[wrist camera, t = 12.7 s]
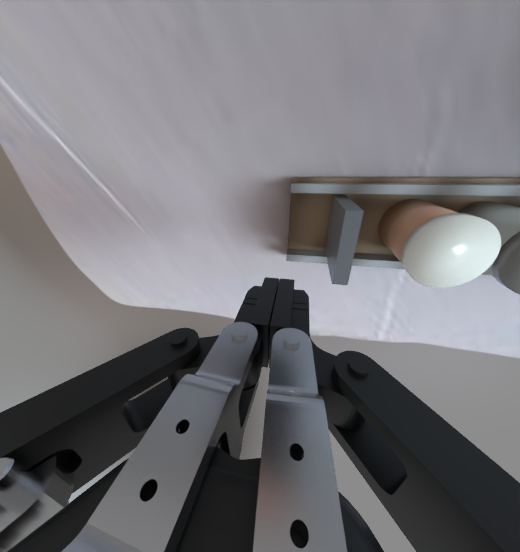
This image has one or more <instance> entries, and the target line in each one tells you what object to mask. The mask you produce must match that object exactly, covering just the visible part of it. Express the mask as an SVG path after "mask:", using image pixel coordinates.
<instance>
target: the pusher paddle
mask: <svg viewBox="0 0 520 552" xmlns="http://www.w3.org/2000/svg"><path fill="white" fill-rule="evenodd" d="M363 213H364V211H363V210H362V209H361V208H360V207H359V206H358V205H356V204H355V203H354V202H353V201H352V200H351V199H350V198H349V197H347V196H346V195H333V199H332V205H331V212H330V219H329V225H328V232H327V239H326V246H325V252H326V256H327V261H328V266H329V271H330V276H331V280H332V284H340V285H347V284H348V280H349V275H350V271H351V266H352V262H353V257H354V253H355V248H356V244H357V239H358V235H359V230H360V226H361V222H362V217H363Z"/></svg>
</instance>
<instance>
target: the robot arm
mask: <svg viewBox="0 0 520 552" xmlns="http://www.w3.org/2000/svg"><path fill="white" fill-rule="evenodd" d="M269 358H270V359H269ZM268 363H269V367H270V373H269V385H268V391H267V398H266V408H265V420H264V431H263V442H262V453H261V458H256V459H247V460H239V459H240V454H241V450H242V443H243V436H244V432H245V428H246V425H247V421H248V418H249V414H250V411H251V408H252V404H253V401H254V397H255V394H256V390H257V387H258V384H259V377H260V372H261V368H262V367H268ZM166 377H168V379H167V380H165V381H164V382H162V383H160V384H159V385H157V386H156V387H154V388H152V389H151V390H149V391H147V392H146V393H144V394H142V395H141V396H139V397H137V398H135V399H133V400H130V401H128V400H129V399H131V398H132V397H134V396H136V395H137V394H139V393H141V392H142V391H144V390H146V389H148V388H149V387H151V386H153V385H154V384H156V383H158V382H159V381H161V380H162V379H164V378H166ZM329 430H330V431H331V433H332V434H333V436H334V437H335V438H336V440H337V441H338V443H339V444H340V445H341V447H342V448H343V449H344V451H345V452H346V454H347V455H348V456H349V458H350V459H351V461H352V462H353V464H354V465H355V466H356V468H357V469H358V471H359V472H360V473H361V475H362V476H363V478H364V479H365V480H366V482H367V483H368V484H369V486H370V487H371V489H372V490H373V492H374V493H375V494H376V496H377V497H378V498H379V500H380V501H381V503H382V504H383V505H384V507H385V508H386V510H387V511H388V512H389V514H390V515H391V517H392V518H393V519H394V521H395V522H396V524H397V525H398V526H399V528H400V529H401V531H402V532H403V533H404V535H405V536H406V538H407V539H408V540H409V542H410V543H411V544H412V546H413V547H414V549H415V550H416V552H520V483H519V482H518V481H516V480H515V479H514V478H513V477H512V476H511V475H509V474H508V473H507V472H506V471H505V470H503V469H502V468H501V467H500V466H499V465H498V464H496V463H495V462H494V461H493V460H491V459H490V458H489V457H488V456H487V455H485V454H484V453H483V452H482V451H481V450H480V449H478V448H477V447H476V446H475V445H474V444H472V443H471V442H470V441H469V440H468V439H467V438H465V437H464V436H463V435H462V434H460V433H459V432H458V431H457V430H456V429H455V428H453V427H452V426H451V425H450V424H448V423H447V422H446V421H445V420H444V419H443V418H442V417H440V416H439V415H438V414H437V413H436V412H434V411H433V410H432V409H431V408H430V407H428V406H427V405H426V404H425V403H424V402H422V401H421V400H420V399H419V398H418V397H416V396H415V395H414V394H413V393H412V392H410V391H409V390H408V389H407V388H406V387H405V386H403V385H402V384H401V383H400V382H398V381H397V380H396V379H395V378H394V377H392V376H391V375H390V374H389V373H388V372H387V371H386V370H384V369H383V368H382V367H381V366H380V365H378V364H377V363H376V362H375V361H374V360H372V359H371V358H370V357H368V356H366V355H364V354H362V353H359V352H355V351H345V352H342V353H340V354H338V355H337V356H335V355H332V354H330V353H327V352H325V351H323V350H321V349H320V348H318V347H317V346H316V345H315V344H314V343H313V342H312V340H311V338H310V334H309V297H308V295H307V294H306V292H305V291H304V290H294V280H290V279H280V282H279V279H278V278H266V277H265V279H264V282H263V285H262V287H260V286H254V287H252V288H251V289H250V290H248V292H247V294H246V296H245V299H244V301H243V304H242V305H241V308H240V310H239V312H238V314H237V317H236V319H235V321H234V323H232V324H230V325H228V326H226V327H225V328H224V329H223V330H222V332H221V334H220V335H217V336H213V337H204V338H199V336H198V334H197V332H196V331H195V330H192V329H190V328H180V329H176V330H173V331H171V332H169V333H167V334H165V335H162V336H160V337H158V338H156V339H154V340H152V341H150V342H148V343H146V344H144V345H142V346H139V347H138V348H135V349H133V350H131V351H129V352H127V353H125V354H123V355H120V356H119V357H116V358H114V359H112V360H110V361H108V362H106V363H104V364H102V365H100V366H97V367H95V368H93V369H92V370H89V371H87V372H85V373H83V374H81V375H79V376H77V377H75V378H72V379H70V380H68V381H66V382H64V383H62V384H60V385H58V386H55V387H53V388H51V389H49V390H47V391H45V392H43V393H41V394H39V395H37V396H35V397H33V398H31V399H28V400H26V401H24V402H22V403H20V404H18V405H16V406H14V407H11V408H9V409H7V410H5V411H3V412H1V413H0V552H384V551H383V549H382V548H381V546H380V544H379V543H378V541H377V539H376V538H375V536H374V535H373V533H372V531H371V530H370V528H369V527H368V525H367V524H366V522H365V521H364V520H363V518H362V517H361V516H360V514H359V513H358V511H357V510H356V509H355V508H354V507H353V506H352V505H351V503H350V502H349V501H348V500H347V499H346V498H345V497H344V496H343V495H342V494H341V493H340V492H338V488H337V481H336V475H335V468H334V462H333V455H332V449H331V443H330V436H329ZM134 448H136V449H135V450H134V452H133V453H132V455H131V456H130V458H129V459H127V460H125V461H124V462H122V463H121V464H120V465H118V466H117V467H116V468H114V469H113V470H112V471H111V472H109V473H108V474H107V475H105V476H104V477H103V478H102V479H100V480H99V481H98V482H96V483H95V484H94V485H92V486H91V487H90V488H89V489H87V490H86V491H85V492H83V493H82V494H81V495H79V496H78V497H77V498H76V499H74V500H73V501H72V502H71V503H69V501H68V500H69V498H70V496H71V494H72V493H73V492H75V491H76V490H77V489H79V488H80V487H82V486H83V485H85V484H86V483H87V482H89V481H90V480H92V479H93V478H94V477H96V476H97V475H98V474H100V473H101V472H103V471H104V470H105V469H107V468H108V467H109V466H111V465H112V464H114V463H115V462H116V461H118V460H119V459H120V458H122V457H123V456H125V455H126V454H127V453H129V452H130V451H131V450H133V449H134Z"/></svg>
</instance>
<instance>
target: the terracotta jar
mask: <svg viewBox="0 0 520 552" xmlns="http://www.w3.org/2000/svg"><path fill="white" fill-rule="evenodd" d="M378 234H379V237H380V239H381V241H382V242H383V243H384V244H385V245H386V246H387V247H388V248H389V250H390V251H391V252H392V253H393V254H394V255H395V256H396V257H397V258H398V259H399V261H400V262H401V263H402V265H403V267H404V269H405V270H406V271H407V273H408V274H409V275H410V276H411V277H412V278H413V279H414V280H415V281H416V282H418V283H420V284H421V285H424V286H427V287H432V288H449V287H454V286H458V285H461V284H464V283H467V282H469V281H471V280H473V279H475V278H476V277H478V276H479V275H481V274H482V273H483V272H485V271H486V270H487V269H488V268H489V267H490V266H491V265H492V264H493V262H494V261H495V259H496V258H497V256H498V254H499V251H500V248H501V237H500V233H499V231H498V229H497V228H496V227H495V226H494V225H493V224H492V223H491V222H489V221H487V220H485V219H482V218H479V217H476V216H473V215H470V214H466V213H457V212H454V211H452V210H449V209H446V208H443V207H440V206H438V205H435V204H432V203H429V202H426V201H423V200H420V199H407V200H403V201H401V202H398V203H396V204H395V205H393V206H392V207H390V208H389V209H388V210H387V211H386V212H385V213H384V214H383V216H382V218H381V220H380V222H379V226H378Z"/></svg>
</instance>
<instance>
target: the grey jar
mask: <svg viewBox="0 0 520 552" xmlns="http://www.w3.org/2000/svg"><path fill="white" fill-rule="evenodd" d="M457 213H466V214H470V215H473V216H476V217H479V218H482V219H485V220H487V221H489V222H491V223H492V224H493V225H494V226H495V227H496V228H497V229H498V231H499V233H500V237H501V248H500V251H499V254H498V256H497V258H496V259H495V261H494V262H493V264H492V265H491V266H490V267H489V268H488V269H487V270H486V272H487V273H489V274H491V275H492V276H494V277H495V278H496V280H497V281H498V282H500V283H501V284H502V285H504V286H506V287H507V288H509V289H510V290H512V291H514V292H515V293H518V294H520V208H519V207H515V206H510V205H506V204H501V203H497V202H492V201H481V202H476V203H473V204H470V205H468V206H465V207H464V208H462V209H460V210H459V211H457Z"/></svg>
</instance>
